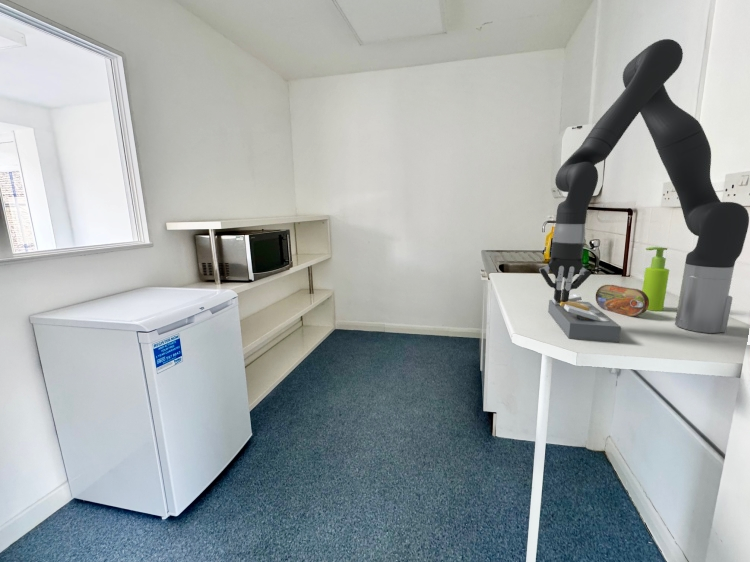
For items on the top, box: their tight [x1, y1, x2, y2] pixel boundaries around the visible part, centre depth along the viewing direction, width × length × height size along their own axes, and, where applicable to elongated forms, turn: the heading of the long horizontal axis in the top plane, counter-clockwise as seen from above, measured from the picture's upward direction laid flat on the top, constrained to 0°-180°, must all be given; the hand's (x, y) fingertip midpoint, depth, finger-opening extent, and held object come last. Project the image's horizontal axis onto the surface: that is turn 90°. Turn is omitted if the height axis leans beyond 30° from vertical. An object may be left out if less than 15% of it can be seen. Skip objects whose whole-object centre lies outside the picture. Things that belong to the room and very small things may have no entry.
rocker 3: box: [564, 304, 598, 320], centre depth 89 cm, size 7×4×1 cm, turn 75°
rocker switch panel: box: [547, 299, 622, 343], centre depth 95 cm, size 11×24×5 cm, turn 165°
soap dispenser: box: [641, 246, 670, 312], centre depth 109 cm, size 6×7×20 cm
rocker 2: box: [558, 300, 590, 311], centre depth 95 cm, size 7×4×1 cm, turn 75°
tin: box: [595, 284, 649, 317], centre depth 107 cm, size 15×3×8 cm, turn 20°
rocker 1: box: [551, 293, 582, 305], centre depth 102 cm, size 7×4×1 cm, turn 75°
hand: (560, 302), depth 96 cm, fingers closed
